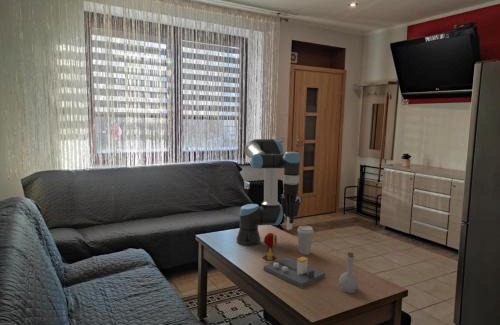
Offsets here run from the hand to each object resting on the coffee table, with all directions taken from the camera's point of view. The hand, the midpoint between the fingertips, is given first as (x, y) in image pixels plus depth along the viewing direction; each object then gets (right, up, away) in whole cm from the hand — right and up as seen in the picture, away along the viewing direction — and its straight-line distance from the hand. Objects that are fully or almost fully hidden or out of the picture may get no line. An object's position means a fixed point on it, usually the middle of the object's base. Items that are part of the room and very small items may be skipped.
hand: (289, 228), depth 175 cm
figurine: (-9, -20, +16) cm, 27 cm away
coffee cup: (+12, -19, +28) cm, 36 cm away
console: (+2, -22, 0) cm, 22 cm away
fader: (+6, -21, -4) cm, 22 cm away
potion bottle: (+26, -25, -16) cm, 39 cm away
